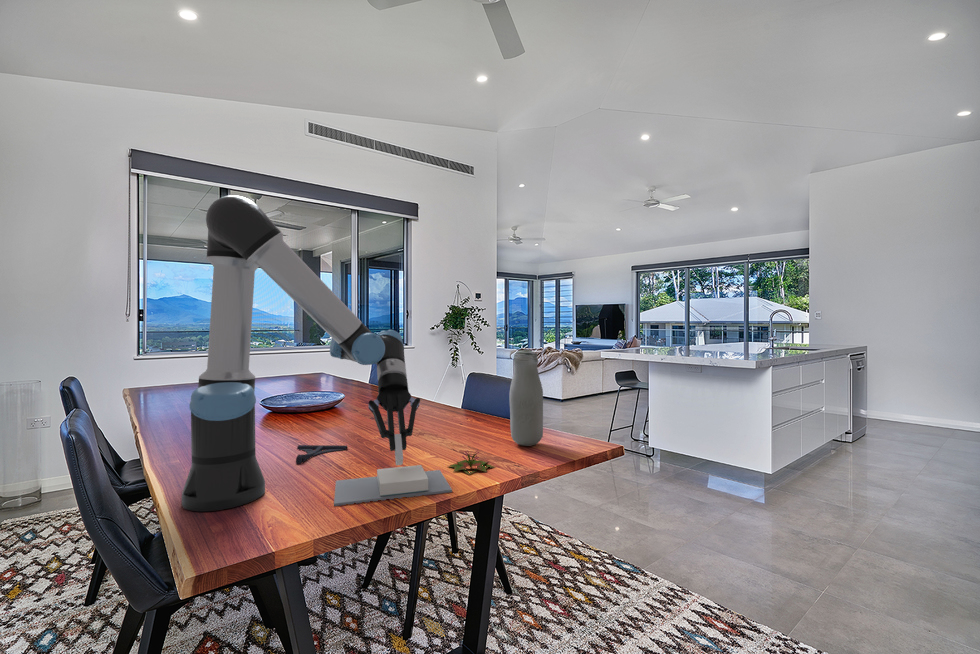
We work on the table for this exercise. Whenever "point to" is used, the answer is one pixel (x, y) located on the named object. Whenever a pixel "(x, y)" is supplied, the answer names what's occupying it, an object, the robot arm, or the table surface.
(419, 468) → the tile
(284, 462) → the table surface
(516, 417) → the grey bottle
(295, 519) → the table surface
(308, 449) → the bracket
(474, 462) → the lily flower
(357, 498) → the mat
